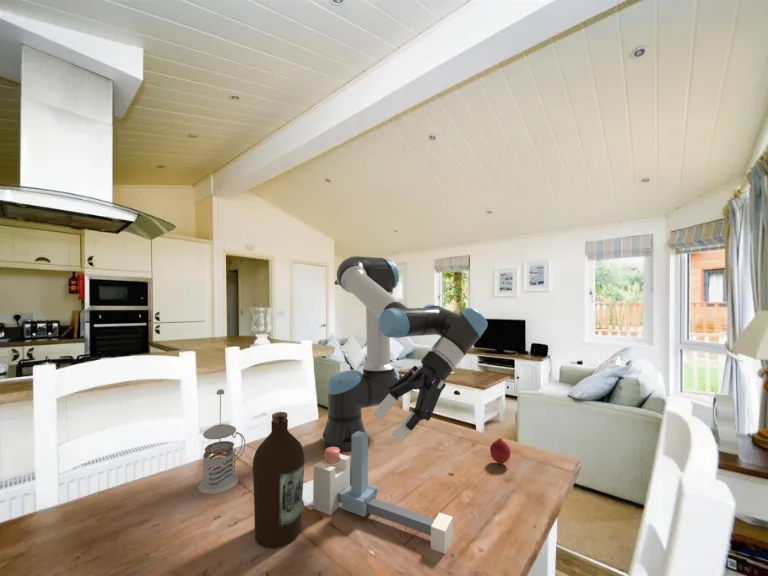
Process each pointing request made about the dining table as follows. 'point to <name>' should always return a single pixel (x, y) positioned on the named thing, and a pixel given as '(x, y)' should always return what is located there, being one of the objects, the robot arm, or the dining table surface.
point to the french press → (219, 476)
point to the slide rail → (376, 504)
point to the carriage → (358, 477)
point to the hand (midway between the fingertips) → (385, 427)
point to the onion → (500, 451)
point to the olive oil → (278, 485)
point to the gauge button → (332, 455)
